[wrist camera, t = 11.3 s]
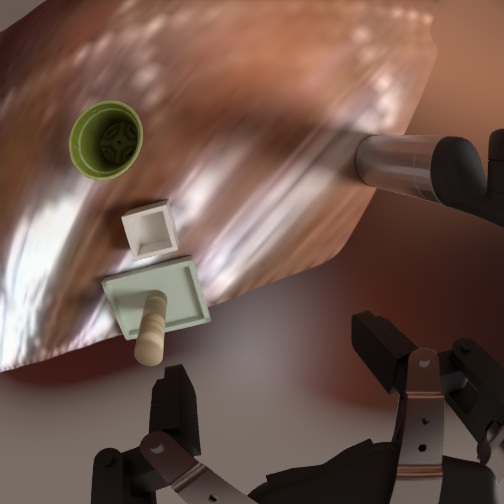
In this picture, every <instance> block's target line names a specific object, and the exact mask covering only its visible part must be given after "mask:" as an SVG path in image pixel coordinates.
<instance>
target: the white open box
mask: <svg viewBox="0 0 504 504" xmlns="http://www.w3.org/2000/svg"><path fill="white" fill-rule="evenodd" d="M121 218H122V221H123V225H124V228H125V232H126V235H127V238H128V242H129V245H130V248H131V251H132V254H133V257H134V261H137V260H141V259H145V258H149V257H152V256H156V255H160V254H164V253H168V252H172V251H176V250H178V244H179V238H178V234H177V230H176V226H175V223H174V219H173V215H172V211H171V207H170V202H169V199H168V200H164V201H160V202H157V203H153V204H149V205H146V206H142V207H138V208H135V209H131V210H129V211H128V212H126V213H125V214H124V215H123V216H122V217H121Z"/></svg>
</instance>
